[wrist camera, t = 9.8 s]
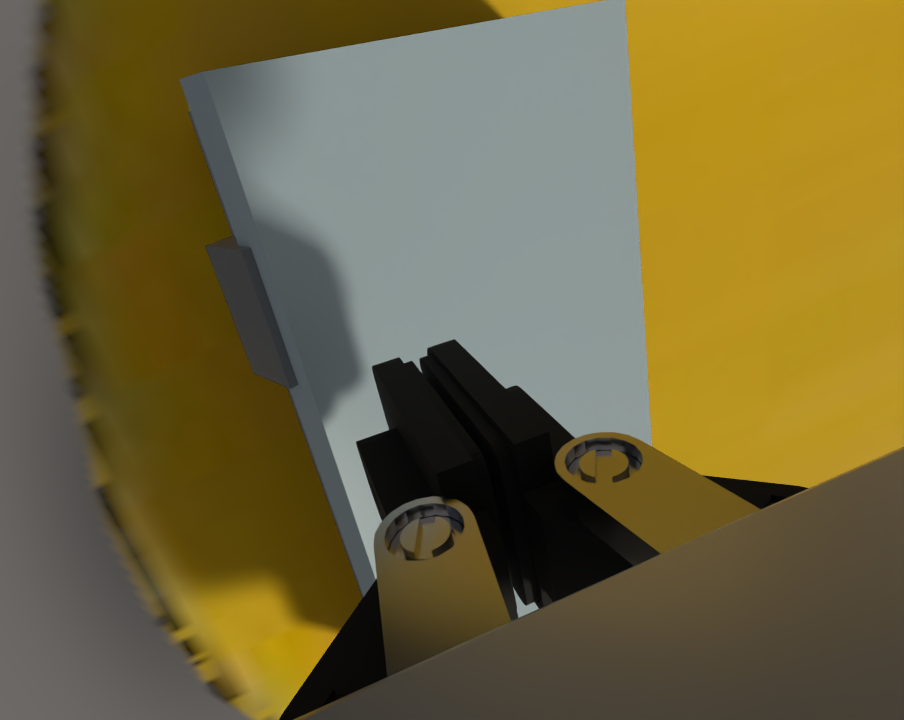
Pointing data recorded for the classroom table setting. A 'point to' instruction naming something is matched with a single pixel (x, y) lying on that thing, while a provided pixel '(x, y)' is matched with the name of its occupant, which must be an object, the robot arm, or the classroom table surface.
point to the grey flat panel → (434, 226)
